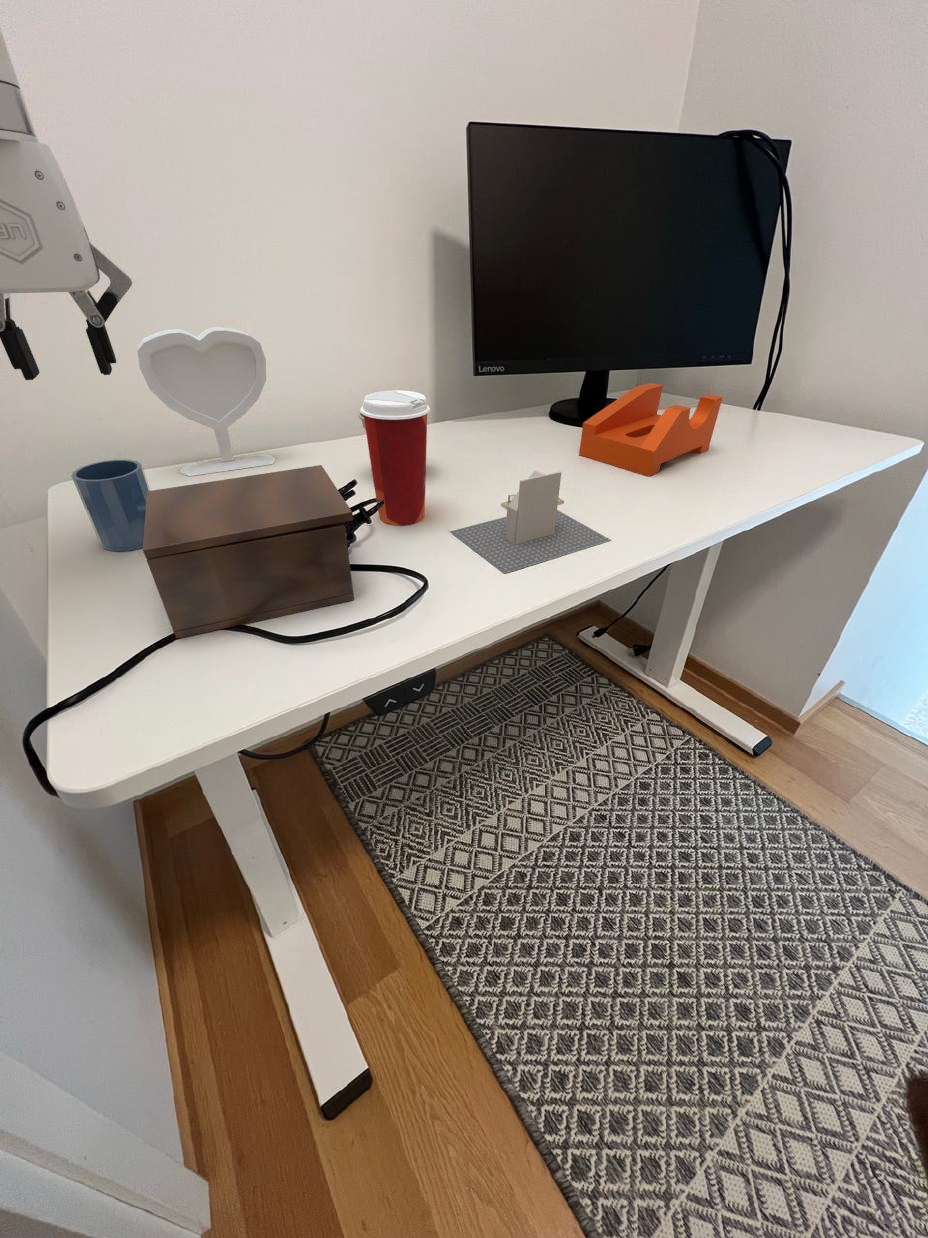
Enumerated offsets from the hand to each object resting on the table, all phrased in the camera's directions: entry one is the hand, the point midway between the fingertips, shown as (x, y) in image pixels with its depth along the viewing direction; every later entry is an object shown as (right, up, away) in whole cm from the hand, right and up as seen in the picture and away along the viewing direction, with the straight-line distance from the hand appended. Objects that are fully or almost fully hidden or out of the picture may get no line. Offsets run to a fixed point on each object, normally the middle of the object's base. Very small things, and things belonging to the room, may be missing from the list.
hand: (70, 372), depth 51 cm
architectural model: (+45, -14, +12) cm, 49 cm away
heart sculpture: (+2, 0, +30) cm, 30 cm away
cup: (0, -14, +10) cm, 17 cm away
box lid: (+18, -13, -2) cm, 22 cm away
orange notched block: (+67, +3, +36) cm, 76 cm away
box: (+17, -20, +2) cm, 27 cm away
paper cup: (+30, -11, +16) cm, 35 cm away
